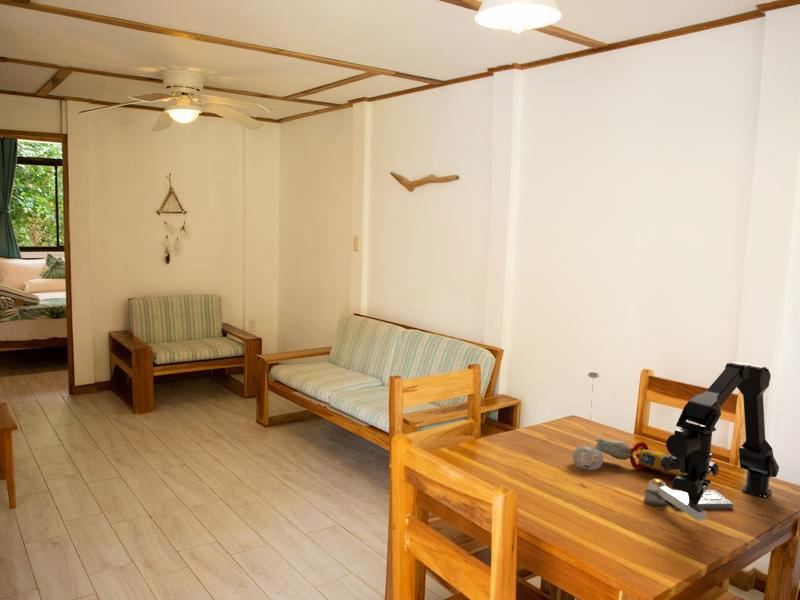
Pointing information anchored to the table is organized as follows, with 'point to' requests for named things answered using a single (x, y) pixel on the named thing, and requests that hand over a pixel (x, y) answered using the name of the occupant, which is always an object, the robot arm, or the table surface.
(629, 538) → the table surface
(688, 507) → the swing arm
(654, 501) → the pivot base
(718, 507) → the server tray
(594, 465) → the pendant light
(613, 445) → the toy
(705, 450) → the robot arm
